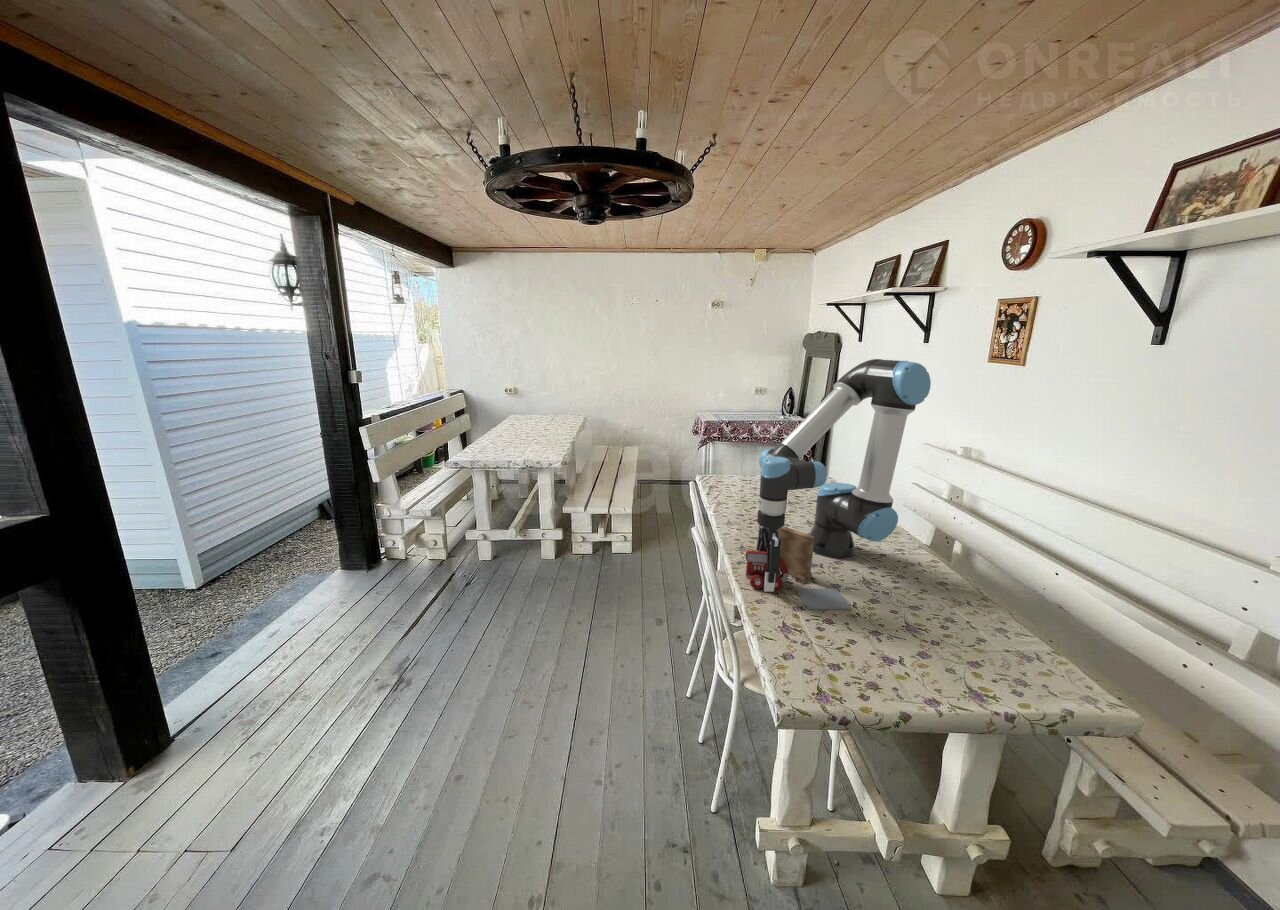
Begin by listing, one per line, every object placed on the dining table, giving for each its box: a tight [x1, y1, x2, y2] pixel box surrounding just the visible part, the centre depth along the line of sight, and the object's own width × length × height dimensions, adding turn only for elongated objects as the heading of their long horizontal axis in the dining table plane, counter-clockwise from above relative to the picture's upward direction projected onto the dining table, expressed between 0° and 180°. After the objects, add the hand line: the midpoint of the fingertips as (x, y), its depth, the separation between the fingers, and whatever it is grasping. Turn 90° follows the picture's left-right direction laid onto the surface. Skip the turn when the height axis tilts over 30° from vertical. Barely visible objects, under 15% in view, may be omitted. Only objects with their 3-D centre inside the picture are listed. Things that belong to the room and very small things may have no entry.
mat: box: [794, 587, 853, 611], centre depth 130 cm, size 12×10×1 cm
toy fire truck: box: [745, 549, 789, 592], centre depth 136 cm, size 7×12×10 cm, turn 82°
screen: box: [777, 526, 815, 584], centre depth 144 cm, size 16×6×14 cm, turn 46°
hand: (764, 583), depth 137 cm, fingers open, 7 cm apart
